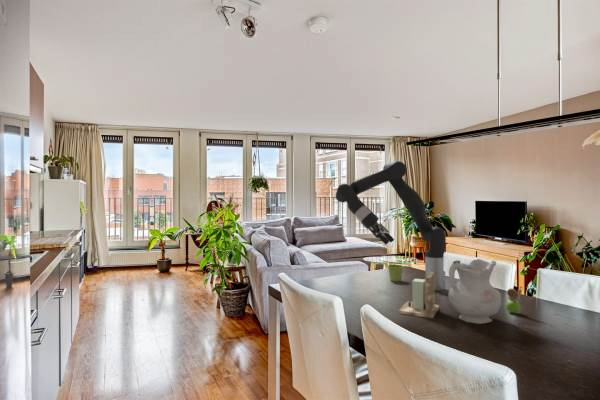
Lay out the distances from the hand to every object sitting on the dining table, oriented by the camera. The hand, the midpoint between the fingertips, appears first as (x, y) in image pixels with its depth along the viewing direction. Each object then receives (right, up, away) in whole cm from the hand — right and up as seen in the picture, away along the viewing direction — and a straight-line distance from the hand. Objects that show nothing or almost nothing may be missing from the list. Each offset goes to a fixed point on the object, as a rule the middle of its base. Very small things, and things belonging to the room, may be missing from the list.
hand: (390, 242), depth 171 cm
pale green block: (+10, -27, -10) cm, 31 cm away
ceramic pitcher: (+28, -29, -22) cm, 46 cm away
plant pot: (+15, -28, +47) cm, 57 cm away
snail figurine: (+49, -29, -15) cm, 59 cm away
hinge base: (+10, -29, -10) cm, 32 cm away
